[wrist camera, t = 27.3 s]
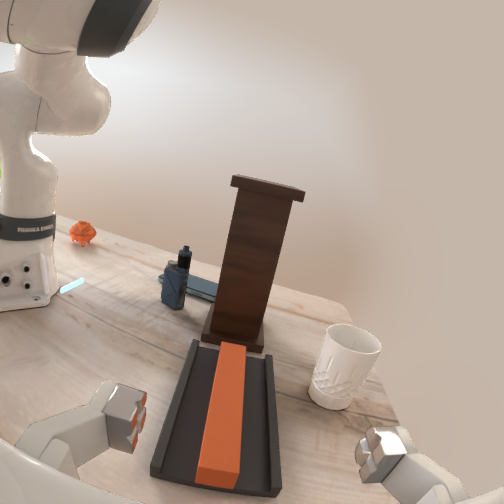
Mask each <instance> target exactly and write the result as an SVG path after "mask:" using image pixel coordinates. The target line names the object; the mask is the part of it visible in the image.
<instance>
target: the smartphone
mask: <svg viewBox="0 0 504 504" xmlns="http://www.w3.org/2000/svg"><path fill="white" fill-rule="evenodd" d="M163 277H164V274H162V275H160V276H159V277H158V281H160V282H161V283H163ZM217 289H218V284H217V283H214V282H211V281H208V280H205V279H202V278H199V277H196V276H193V275H190V274H189V276H188V282H187V288H186V292H188V293H191V294H194V295H196V296H199V297H202V298H205V299H207V300H210V301H215V299H216V294H217Z"/></svg>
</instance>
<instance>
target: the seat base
mask: <svg viewBox="0 0 504 504" xmlns="http://www.w3.org/2000/svg"><path fill="white" fill-rule="evenodd" d="M199 342H200V341H199V340H195V339H193V341H192V344H191V347H190V349H189V352H188V355H187V358H186V361H185V364H184V366H183V369H182V372H181V375H180V378H179V381H178V384H177V386H176V389H175V392H174V395H173V398H172V401H171V404H170V407H169V410H168V413H167V416H166V419H165V421H164V424H163V427H162V430H161V433H160V436H159V439H158V442H157V445H156V448H155V452H154V455H153V458H152V461H151V464H150V476H152V477H156V478H160V479H163V480H167V481H171V482H176V483H180V484H184V485H189V486H194V487H199V488H204V489H210V490H216V491H222V492H228V493H236V494H244V495H252V496H263V497H277V496H278V494H279V492H280V491H281V489H282V479H281V465H280V451H279V437H278V423H277V410H276V397H275V384H274V372H273V359H272V355H268V354H266V355H265V359H259V358H254V357H248V356H246V362H245V380H244V398H243V416H242V434H241V452H240V470H239V475H238V478H237V481H236V483H235V486H234V488H233V489H228V488H221V487H215V486H209V485H204V484H199V483H195V479H196V473H197V468H198V462H199V457H200V451H201V446H202V441H203V435H204V430H205V424H206V419H207V414H208V409H209V403H210V398H211V393H212V388H213V382H214V377H215V372H216V367H217V362H218V357H219V352H220V351H219V350H214V349H209V348H205V347H200V346H199Z"/></svg>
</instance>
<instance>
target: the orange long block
mask: <svg viewBox="0 0 504 504" xmlns="http://www.w3.org/2000/svg"><path fill="white" fill-rule="evenodd" d="M245 362H246V346H242V345H237V344H232V343H227V342H223V341H222V343H221V347H220V352H219V357H218V362H217V367H216V372H215V377H214V382H213V388H212V393H211V398H210V403H209V409H208V414H207V419H206V424H205V430H204V435H203V441H202V446H201V451H200V457H199V462H198V468H197V473H196V479H195V483H199V484H204V485H209V486H215V487H221V488H228V489H233V488H234V486H235V483H236V481H237V478H238V475H239V470H240V452H241V434H242V416H243V398H244V380H245Z"/></svg>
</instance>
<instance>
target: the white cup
mask: <svg viewBox="0 0 504 504" xmlns="http://www.w3.org/2000/svg"><path fill="white" fill-rule="evenodd" d="M381 349H382V344H381V342H380V341H379V340H378V339H377V338H376V337H375V336H374V335H373V334H371V333H369V332H368V331H366V330H364V329H361V328H359V327H356V326H352V325H348V324H333V325H330V326H328V327H327V329H326V332H325V336H324V339H323V342H322V345H321V348H320V351H319V354H318V358H317V361H316V364H315V368H314V371H313V376H312V380H311V382H310V385H309V390H308V393H309V395H310V397H311V399H312V400H313V401H314V402H315V403H317V404H318V405H319V406H322V407H324V408H327V409H331V410H342V409H345V408H347V407H348V406H349V405H350V404H351V403H352V401H353V400H354V398H355V396H356V394H357V393H358V392H359V390H360V389H361V387H362V385H363V383H364V382H365V380H366V378H367V376H368V375H369V373H370V371H371V369H372V367H373V365H374V363H375V361H376V359H377V357H378V355H379V353H380V351H381Z"/></svg>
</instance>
